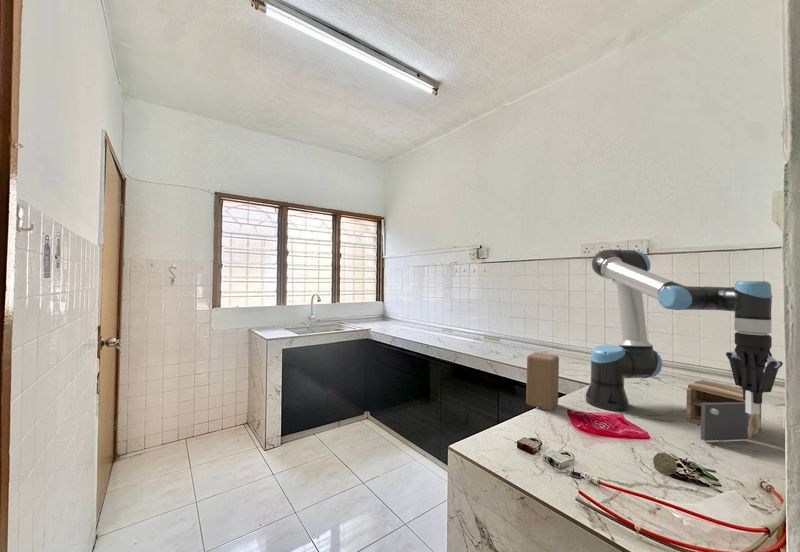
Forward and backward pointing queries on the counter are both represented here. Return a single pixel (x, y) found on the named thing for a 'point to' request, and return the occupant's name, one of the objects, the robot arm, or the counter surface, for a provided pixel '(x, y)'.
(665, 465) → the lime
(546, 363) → the wooden block
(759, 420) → the box
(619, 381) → the robot arm
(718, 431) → the door
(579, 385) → the counter surface
